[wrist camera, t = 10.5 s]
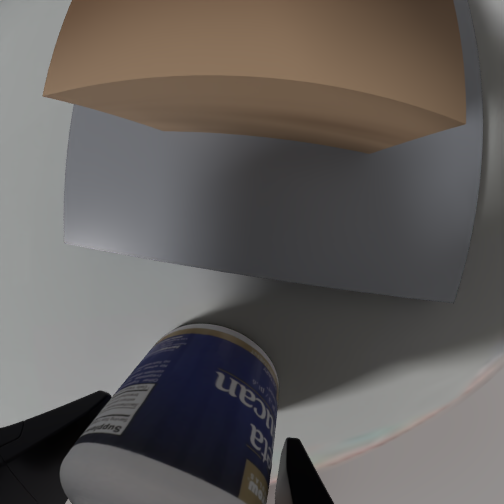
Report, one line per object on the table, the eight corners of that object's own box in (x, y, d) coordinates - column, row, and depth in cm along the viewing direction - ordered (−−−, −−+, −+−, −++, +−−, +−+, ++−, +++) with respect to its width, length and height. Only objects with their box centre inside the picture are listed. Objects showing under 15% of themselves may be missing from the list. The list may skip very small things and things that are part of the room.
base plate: (141, -47, 7) (130, -59, 6) (447, -22, 6) (456, -34, 5) (82, 237, 11) (64, 243, 9) (439, 291, 9) (453, 303, 8)
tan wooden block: (195, -21, 7) (138, -109, 2) (373, -8, 6) (413, -104, 1) (163, 131, 8) (42, 96, 3) (369, 154, 7) (466, 124, 3)
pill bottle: (307, 389, 11) (297, 630, 1) (212, 433, 12) (150, 606, 3) (218, 292, 10) (41, 565, 1) (131, 356, 12) (-5, 519, 2)
